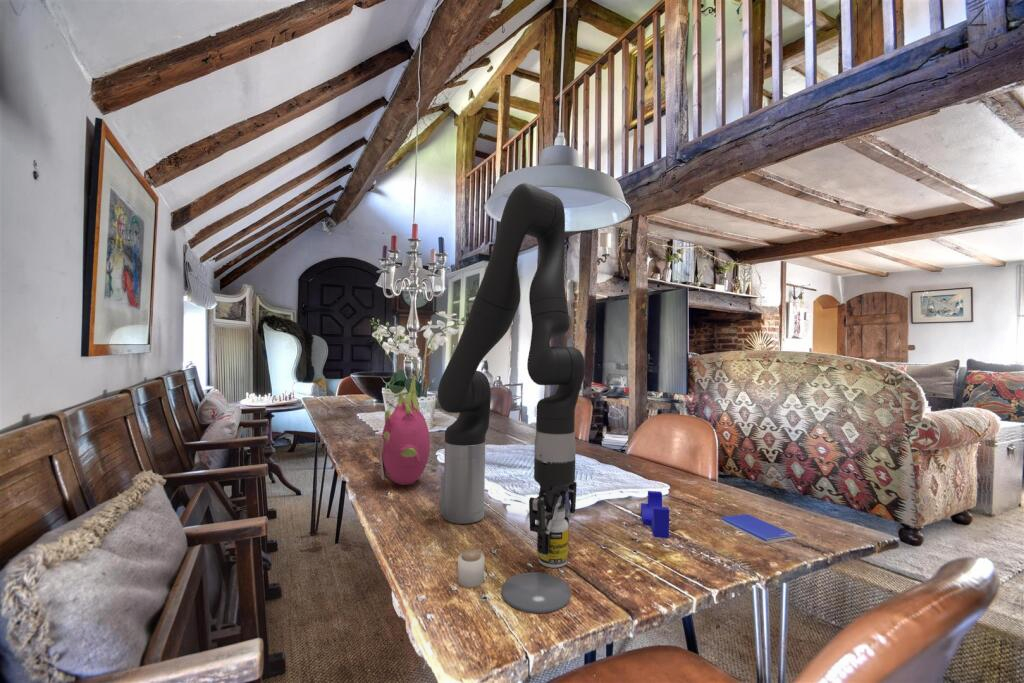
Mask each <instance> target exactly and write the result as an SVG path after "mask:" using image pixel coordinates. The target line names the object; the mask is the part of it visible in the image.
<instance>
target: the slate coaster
mask: <svg viewBox="0 0 1024 683" xmlns="http://www.w3.org/2000/svg"><path fill="white" fill-rule="evenodd" d="M571 594H572V590H571V587H570V586H569V584H568V583H567V582H566V581H565V580H564V579H561V578H560V577H558V576H556V575H553V574H550V573H544V572H535V571H534V572H531V571H530V572H522V573H519V574H516V575H513V576H510V577H509V578H507V579H506V580H505V581H504V583H503V584H502V587H501V595H502V598H504V599H503V600H504V601H505V603H507V605H509V606H510V607H512V608H513V609H516V610H518V611H521V612H526V613H531V614H548V613H553V611H554V612H556V611H559V610H561V609H563V608H565V607H566V606H567V605H568V604H569V603H570V601H571V597H572V595H571Z"/></svg>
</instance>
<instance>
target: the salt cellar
mask: <svg viewBox="0 0 1024 683" xmlns="http://www.w3.org/2000/svg"><path fill="white" fill-rule="evenodd" d="M484 582H485V555H484V554H483V553H482V551H481V550H480V549H479V548H475V547H468V548H465V549H463V550H462V551H461V553H460V554H459V555H458V557H457V583H458V585H459V586H461V587H463V588H468V587H470V588H471V589H472V588H477V587H479V585H480V586H481V585H483V584H484ZM482 583H483V584H482ZM470 588H469V589H470Z"/></svg>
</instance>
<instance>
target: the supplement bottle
mask: <svg viewBox="0 0 1024 683" xmlns="http://www.w3.org/2000/svg"><path fill="white" fill-rule="evenodd" d="M545 514H547V515H550V514H551V513H549V512H546V511H545ZM564 518H565V508H564V507H562V508H561V509H559V510H558V511H557V516H556V520H555V521H553V522H552V525H551V529H550V553H549V554H547V555H544V554H541V553H539V552H538V551H537V557H538V558H537V559H538V562H539V563H540V564H541V565H542V566H544V567H547V568H551V569H552V568H553V569H554V568H556V569H558V568H562V567H564V566H566V565H567V563H568V557H569V553H568V552H569V538H568V530H569V531H570V525H569V526H568V522H567V521H566V520H565V519H564ZM546 523H547V519H545V526H546Z"/></svg>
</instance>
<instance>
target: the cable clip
mask: <svg viewBox="0 0 1024 683" xmlns="http://www.w3.org/2000/svg"><path fill="white" fill-rule="evenodd" d="M640 517H641V521H642V525H643V526H648V527H649V526H650V528H651V531H652V536H653V537H654V538H660V539H661V538H662V539H663V538H664V539H669V538H670V508H669V507H665V506H663V493H662V491H656V490H654V491H653V490H647V503H646V502H645V503H644V502H640Z"/></svg>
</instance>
